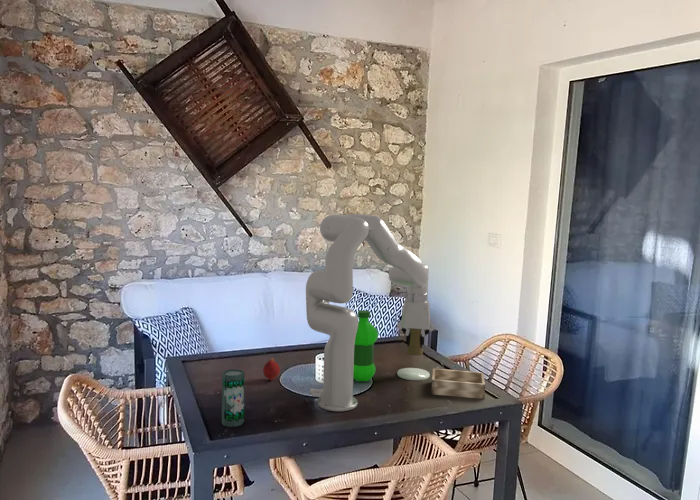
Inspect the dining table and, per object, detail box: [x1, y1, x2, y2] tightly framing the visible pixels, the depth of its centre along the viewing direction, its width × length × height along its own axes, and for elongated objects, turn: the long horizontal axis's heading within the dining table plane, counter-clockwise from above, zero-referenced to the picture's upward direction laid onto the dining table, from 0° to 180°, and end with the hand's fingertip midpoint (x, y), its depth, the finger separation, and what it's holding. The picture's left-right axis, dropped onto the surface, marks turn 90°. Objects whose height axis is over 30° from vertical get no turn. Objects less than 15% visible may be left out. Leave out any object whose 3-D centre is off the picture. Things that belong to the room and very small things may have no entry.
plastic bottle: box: [353, 309, 379, 382], centre depth 207 cm, size 10×10×25 cm
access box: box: [430, 368, 486, 400], centre depth 201 cm, size 18×13×5 cm
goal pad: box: [396, 367, 431, 382], centre depth 216 cm, size 12×12×1 cm
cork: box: [406, 329, 424, 356], centre depth 214 cm, size 6×6×11 cm
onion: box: [262, 358, 281, 381], centre depth 205 cm, size 6×6×8 cm
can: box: [221, 368, 245, 428], centre depth 168 cm, size 6×6×15 cm
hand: (414, 345), depth 214 cm, fingers closed on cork, 3 cm apart
